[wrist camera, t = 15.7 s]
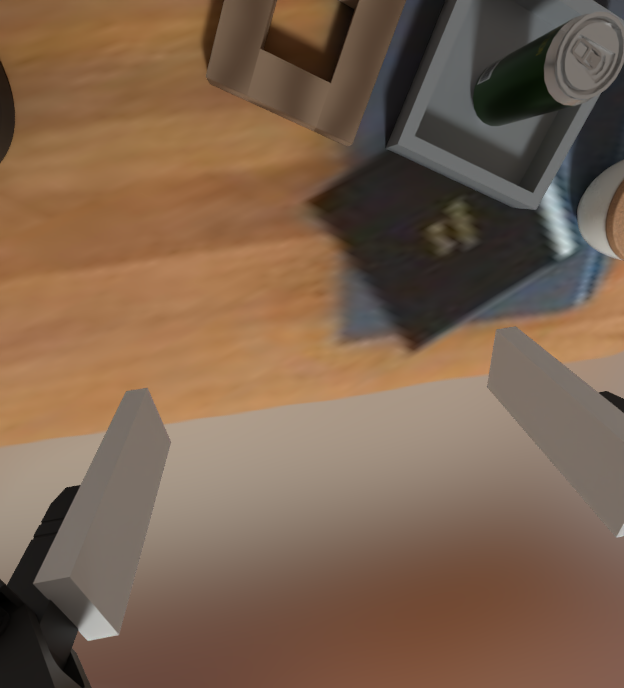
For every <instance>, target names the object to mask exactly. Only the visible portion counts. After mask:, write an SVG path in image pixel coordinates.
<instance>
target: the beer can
mask: <svg viewBox="0 0 624 688" xmlns="http://www.w3.org/2000/svg"><path fill="white" fill-rule="evenodd" d="M623 63H624V26H623V25H622V23H621V22H620V20H619V19H618V17H616V16H614V15H612V14H611V13H609V12H595V13H592V14H584V15H581V16H578V17H575V18H573V19H571V20H569V21H568V22H566V23H564V24H562V25H560V26H559V27H557V28H555V29H553V30H552V31H550V32H548V33H546V34H544V35H543V36H541V37H539V38H537V39H536V40H534V41H532V42H530V43H528V44H527V45H525V46H523V47H521V48H519V49H518V50H516V51H514V52H512V53H511V54H509V55H507V56H505V57H503V58H502V59H500V60H498V61H496V62H495V63H493V64H492V65H490V66H489V67H488V68H486V69H485V70H484V71H483V73H482V74H481V75H480V77H479V78H478V81H477V83H476V85H475V88H474V91H473V98H472V102H473V109H474V111H475V113H476V116H477V117H478V118H479V119H480V120H481V121H482V122H483V123H485V124H487V125H489V126H502V125H505V124H509V123H513V122H517V121H520V120H524V119H528V118H531V117H535V116H539V115H543V114H546V113H550V112H554V111H558V110H561V109H565V108H569V107H572V106H576V105H579V104H582V103H585V102H587V101H589V100H590V99H592V98H593V97H594V96H597V95H599V94H600V93H601V92H603V91H604V90H606V89H607V88H608V87H609V86H610V85H611V83H612V82H613V81H614V80H615V79H616V77H617V75H618V74H619V72H620V70H621V68H622V66H623Z"/></svg>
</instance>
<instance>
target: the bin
mask: <svg viewBox="0 0 624 688" xmlns="http://www.w3.org/2000/svg"><path fill="white" fill-rule="evenodd" d="M595 12H609V13H611V14H612V15H614V16H616V15H615V14H613V13H612V12H610V11H609V10H607V9H606V8H604V7H603V6H601V5H600V4H598V3H597V2H595V1H594V0H445V3H444V5H443V8H442V10H441V13H440V15H439V17H438V20H437V22H436V25H435V27H434V30H433V32H432V35H431V37H430V40H429V42H428V45H427V47H426V50H425V52H424V55H423V57H422V60H421V62H420V64H419V67H418V69H417V72H416V74H415V77H414V79H413V82H412V84H411V87H410V89H409V92H408V94H407V97H406V99H405V102H404V104H403V107H402V109H401V111H400V114H399V116H398V119H397V121H396V124H395V126H394V129H393V131H392V134H391V136H390V139H389V141H388V144H387V146H386V149H388V150H390V151H392V152H395V153H397V154H399V155H401V156H403V157H405V158H407V159H410V160H412V161H414V162H416V163H418V164H420V165H422V166H425V167H427V168H429V169H431V170H433V171H435V172H437V173H440V174H442V175H444V176H446V177H448V178H450V179H452V180H455V181H457V182H459V183H461V184H463V185H465V186H468V187H470V188H472V189H474V190H476V191H478V192H480V193H483V194H485V195H487V196H489V197H491V198H493V199H495V200H498V201H500V202H502V203H504V204H506V205H508V206H510V207H513V208H522V209H534V210H536V209H537V207H538V205H539V203H540V202H541V200H542V198H543V196H544V195H545V193H546V191H547V189H548V187H549V186H550V184H551V182H552V180H553V178H554V177H555V175H556V173H557V171H558V169H559V168H560V166H561V164H562V162H563V160H564V159H565V157H566V155H567V153H568V151H569V150H570V148H571V146H572V144H573V142H574V141H575V139H576V137H577V135H578V133H579V132H580V130H581V128H582V126H583V125H584V123H585V121H586V119H587V117H588V116H589V114H590V112H591V110H592V108H593V107H594V105H595V103H596V101H597V99H598V98H599V96H600V94H601V93H600V94H599V95H597V96H594V97H593V98H592V99H590V100H589V101H587V102H585V103H582V104H579V105H576V106H572V107H569V108H565V109H561V110H558V111H554V112H550V113H546V114H543V115H539V116H535V117H531V118H528V119H524V120H520V121H517V122H513V123H509V124H505V125H502V126H489V125H487V124H485V123H483V122H482V121H481V120H480V119H479V118H478V117H477V116H476V113H475V111H474V109H473V102H472V98H473V91H474V88H475V85H476V83H477V81H478V78H479V77H480V75H481V74H482V73H483V71H484V70H485V69H486V68H488V67H489V66H490V65H492V64H493V63H495V62H496V61H498V60H500V59H502V58H503V57H505V56H507V55H509V54H511V53H512V52H514V51H516V50H518V49H519V48H521V47H523V46H525V45H527V44H528V43H530V42H532V41H534V40H536V39H537V38H539V37H541V36H543V35H544V34H546V33H548V32H550V31H552V30H553V29H555V28H557V27H559V26H560V25H562V24H564V23H566V22H568V21H569V20H571V19H573V18H575V17H578V16H581V15H584V14H592V13H595ZM616 17H618V16H616ZM618 19H619V20H620V22H621V23H622V25H623V26H624V20H623V19H621V18H620V17H618Z"/></svg>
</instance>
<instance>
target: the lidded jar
mask: <svg viewBox="0 0 624 688" xmlns="http://www.w3.org/2000/svg"><path fill="white" fill-rule="evenodd" d="M577 222H578V227H579V230H580V233H581V235H582V237H583V238H584V240H585V241H586V242H587V243H588V244H589V245H590V246H591V247H592V248H594V249H595V250H597V251H599V252H600V253H602V254H605V255H607V256H610V257H612V258H615V259H619V260H624V160H622V161H620V162H618V163H616V164H614V165H612V166H610V167H609V168H607V169H606V170H605V171H603V172H602V173H601V174H600V175H599V176H598V177H596V178H595V179H594V181H593V182H592V183H591V184H590V185H589V187H588V188H587V189H586V191H585V192H584V194H583V195H582V197H581V199H580V202H579V205H578V209H577Z"/></svg>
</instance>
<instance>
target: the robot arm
mask: <svg viewBox="0 0 624 688" xmlns="http://www.w3.org/2000/svg"><path fill="white" fill-rule="evenodd" d="M14 125H15V112H14V103H13V98H12V93H11V89H10V86H9V83H8V80H7V78H6V75H5V73H4V70H3V68H2V66H1V64H0V162H1V161H2V160H3V158H4V157H5V155H6V153H7V151H8V149H9V147H10V144H11V141H12V138H13V133H14ZM487 388H488V389H489V390H490V391H491V392H492V393H493V394H494V396H495V397H496V398H497V399H498V400H499V402H500V403H501V404H502V405H503V406H504V407H505V409H506V410H507V411H508V412H509V413H510V414H511V416H512V417H513V418H514V419H515V420H516V421H517V422H518V424H519V425H520V426H521V427H522V428H523V430H524V431H525V432H526V433H527V434H528V435H529V437H530V438H531V439H532V440H533V441H534V442H535V444H536V445H537V446H538V447H539V448H540V449H541V451H542V452H543V453H544V454H545V455H546V456H547V458H548V459H549V460H550V461H551V462H552V463H553V464H554V466H555V467H556V468H557V469H558V470H559V471H560V473H561V474H562V475H563V476H564V477H565V478H566V480H567V481H568V482H569V483H570V484H571V485H572V487H573V488H574V489H575V490H576V491H577V492H578V493H579V495H580V496H581V497H582V498H583V499H584V501H585V502H586V503H587V504H588V505H589V506H590V508H591V509H592V510H593V511H594V512H595V513H596V514H597V516H598V517H599V518H600V519H601V520H602V522H603V523H604V524H605V525H606V526H607V527H608V529H609V530H610V531H611V532H612V533H613V534H614V536H615V537H622V536H624V399H623V398H621V397H619V396H616V395H614V394H612V393H610V392H607V391H604V392H599V393H598V392H597V391H596V390H594V389H593V388H592V387H591V386H589V385H588V384H587V383H586V382H584V381H583V380H582V379H581V378H579V377H578V376H577V375H575V374H574V373H573V372H572V371H571V370H569V369H568V368H567V367H566V366H564V365H563V364H562V363H561V362H559V361H558V360H557V359H556V358H554V357H553V356H552V355H551V354H549V353H548V352H547V351H546V350H544V349H543V348H542V347H541V346H539V345H538V344H537V343H536V342H534V341H533V340H532V339H531V338H529V337H528V336H527V335H526V334H524V333H523V332H522V331H521V330H519V329H518V328H517V327H516V326H515V327H509V328H503V329H497V330H496V334H495V340H494V346H493V353H492V359H491V365H490V371H489V378H488V385H487ZM170 444H171V441H170V439H169V436H168V434H167V432H166V429H165V427H164V425H163V422H162V420H161V418H160V415H159V413H158V411H157V409H156V406H155V404H154V402H153V399H152V397H151V395H150V392H149V390H148V388H143V389H137V390H131V391H126V393H125V395H124V397H123V399H122V401H121V403H120V405H119V407H118V409H117V411H116V413H115V415H114V417H113V420H112V422H111V424H110V426H109V428H108V430H107V432H106V434H105V436H104V438H103V440H102V442H101V444H100V446H99V448H98V450H97V453H96V455H95V457H94V459H93V461H92V463H91V465H90V467H89V469H88V471H87V473H86V475H85V477H84V479H83V481H82V483H81V485H79V486H72V487H67V488H65V489H64V490H63V491H62V493H61V494H60V495H59V496H58V497H57V498H56V499H55V500H54V501H53V502H52V503H51V505H50V506H49V508H48V510H47V512H46V514H45V516H44V518H43V519H42V521H41V522H42V524H41V525H39V527H38V529H37V530H36V532H35V534H34V539H33V540H31V542H30V544H29V546H28V547H27V549H26V551H25V553H24V555H23V557H22V558H21V560H20V562H19V564H18V566H17V568H16V569H15V571H14V573H13V575H12V577H11V579H10V581H9V582H8V584H7V585H6V584H5V583H4V582H3V581H1V579H0V688H91V686H90V683H89V681H88V679H87V676H86V674H85V672H84V669H83V667H82V665H81V662H80V660H79V658H78V656H77V653H76V652H75V651H74V650H73V649H72V646H73V643H74V640H75V637H76V635H77V631H79V632H80V633H81V634H82V635H83V636H84V637H85V638H86V639H87V640H88V641H90V640H95V639H100V638H104V637H110V636H115V635H119V633H120V629H121V625H122V622H123V618H124V614H125V610H126V607H127V603H128V599H129V596H130V592H131V588H132V584H133V581H134V577H135V573H136V570H137V566H138V562H139V559H140V555H141V551H142V548H143V544H144V540H145V536H146V533H147V529H148V525H149V522H150V518H151V514H152V510H153V507H154V503H155V499H156V496H157V491H158V488H159V484H160V481H161V477H162V473H163V470H164V466H165V462H166V459H167V455H168V451H169V447H170Z"/></svg>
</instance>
